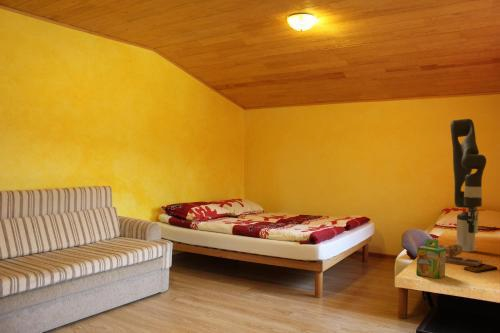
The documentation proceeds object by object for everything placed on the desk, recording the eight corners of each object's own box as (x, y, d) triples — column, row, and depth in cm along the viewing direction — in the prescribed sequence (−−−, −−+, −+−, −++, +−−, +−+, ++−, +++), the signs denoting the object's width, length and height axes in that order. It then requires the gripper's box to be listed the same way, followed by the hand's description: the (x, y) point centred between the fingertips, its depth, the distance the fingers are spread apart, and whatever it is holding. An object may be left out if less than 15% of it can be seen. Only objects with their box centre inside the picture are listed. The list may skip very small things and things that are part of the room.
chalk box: (415, 275, 175) (416, 239, 175) (423, 271, 182) (423, 237, 182) (439, 279, 169) (440, 242, 169) (445, 275, 176) (446, 239, 176)
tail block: (468, 232, 204) (468, 219, 204) (477, 232, 202) (478, 220, 202) (466, 232, 201) (466, 220, 201) (475, 233, 199) (476, 220, 199)
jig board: (434, 256, 218) (434, 253, 218) (482, 263, 204) (482, 260, 204) (426, 259, 208) (426, 256, 208) (476, 267, 194) (476, 263, 194)
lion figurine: (461, 263, 206) (465, 245, 205) (457, 264, 202) (460, 246, 201) (432, 253, 216) (435, 236, 216) (427, 254, 213) (430, 237, 212)
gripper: (467, 195, 210) (467, 230, 209) (460, 196, 199) (459, 232, 198) (484, 196, 205) (484, 232, 205) (478, 197, 194) (477, 234, 194)
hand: (472, 232), depth 201 cm, fingers closed on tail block, 4 cm apart
